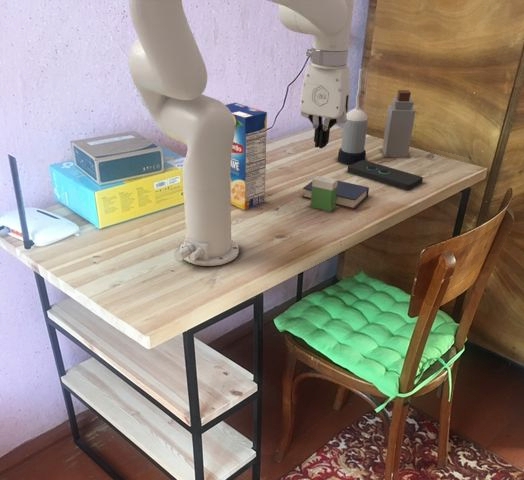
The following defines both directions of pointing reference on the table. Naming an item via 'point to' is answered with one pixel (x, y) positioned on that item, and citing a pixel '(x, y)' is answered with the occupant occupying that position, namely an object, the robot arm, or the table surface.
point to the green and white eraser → (323, 193)
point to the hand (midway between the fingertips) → (320, 146)
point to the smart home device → (385, 174)
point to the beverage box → (248, 156)
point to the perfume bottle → (399, 125)
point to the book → (344, 194)
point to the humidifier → (354, 133)
